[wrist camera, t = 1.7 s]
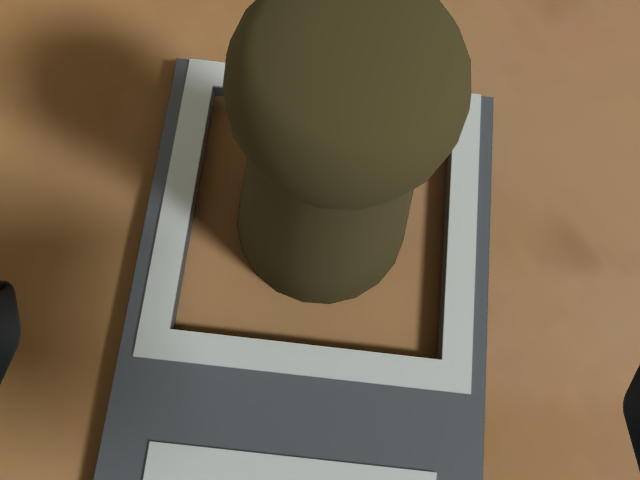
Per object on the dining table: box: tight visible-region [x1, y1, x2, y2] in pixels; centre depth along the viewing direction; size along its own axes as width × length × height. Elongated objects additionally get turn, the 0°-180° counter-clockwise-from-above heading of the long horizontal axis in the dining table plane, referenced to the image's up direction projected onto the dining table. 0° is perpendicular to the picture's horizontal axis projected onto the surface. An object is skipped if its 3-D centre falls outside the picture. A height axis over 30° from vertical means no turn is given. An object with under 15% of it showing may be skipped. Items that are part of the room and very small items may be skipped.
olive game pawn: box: [222, 0, 471, 304], centre depth 16 cm, size 6×6×11 cm
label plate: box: [94, 58, 493, 480], centre depth 20 cm, size 23×12×1 cm, turn 174°
